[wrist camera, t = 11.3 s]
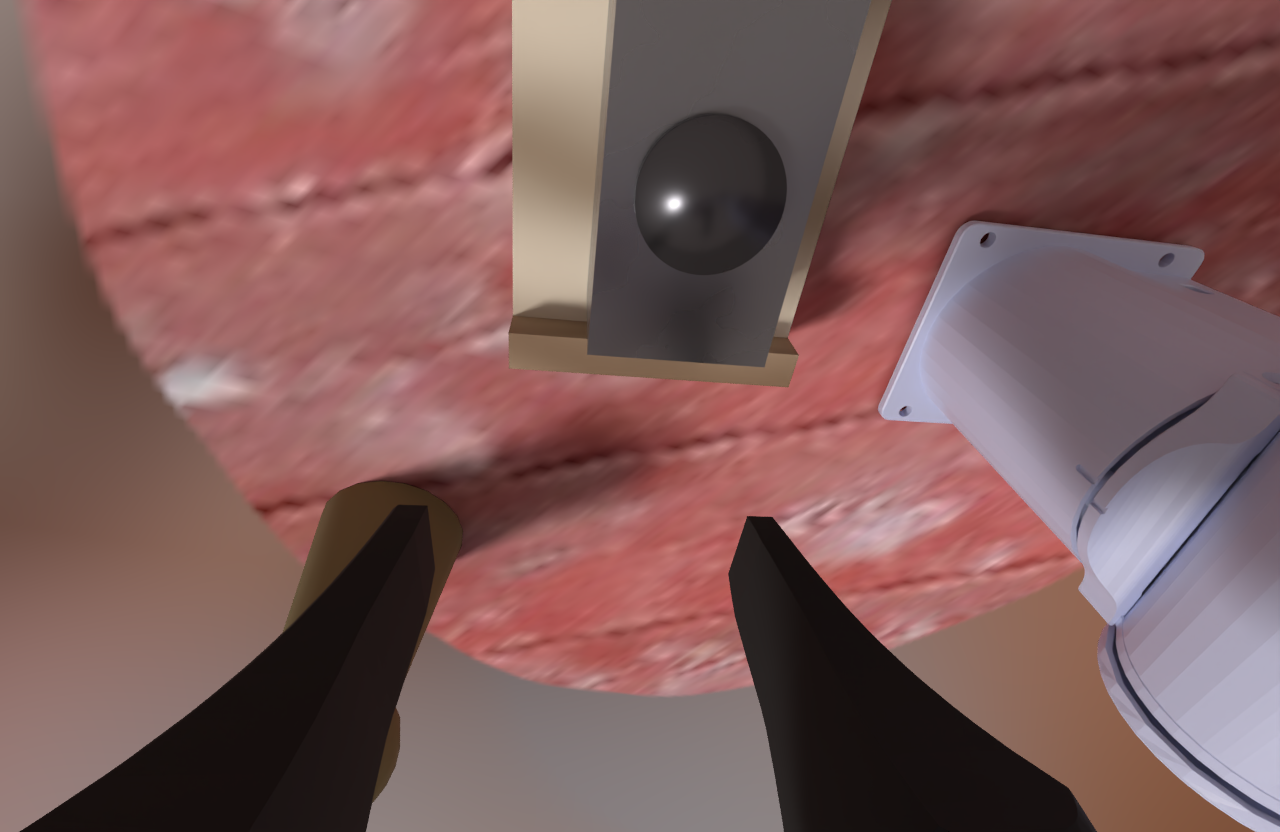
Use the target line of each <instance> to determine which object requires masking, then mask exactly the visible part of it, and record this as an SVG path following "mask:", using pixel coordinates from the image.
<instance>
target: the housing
mask: <svg viewBox="0 0 1280 832" xmlns="http://www.w3.org/2000/svg"><path fill="white" fill-rule="evenodd" d="M870 4H871V0H609V6H608V19H607V32H606V45H605V59H604V72H603V85H602V98H601V111H600V124H599V137H598V150H597V163H596V177H595V190H594V203H593V216H592V229H591V242H590V255H589V268H588V281H587V355H598V356H612V357H626V358H640V359H654V360H668V361H681V362H695V363H709V364H723V365H737V366H751V367H765V364H766V360H767V357H768V353H769V350H770V347H771V343H772V340H773V336H774V333H775V329H776V326H777V323H778V319H779V316H780V312H781V309H782V305H783V302H784V299H785V295H786V292H787V288H788V285H789V281H790V278H791V274H792V271H793V268H794V264H795V261H796V257H797V254H798V250H799V247H800V244H801V240H802V237H803V233H804V230H805V226H806V223H807V220H808V216H809V213H810V209H811V206H812V202H813V199H814V196H815V192H816V189H817V185H818V182H819V178H820V175H821V172H822V168H823V165H824V161H825V158H826V154H827V151H828V148H829V144H830V141H831V137H832V134H833V130H834V127H835V124H836V120H837V117H838V113H839V110H840V106H841V103H842V100H843V96H844V93H845V89H846V86H847V82H848V79H849V76H850V72H851V69H852V65H853V62H854V58H855V55H856V52H857V48H858V45H859V41H860V38H861V34H862V31H863V28H864V24H865V21H866V17H867V14H868V10H869V7H870Z"/></svg>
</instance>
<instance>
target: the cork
mask: <svg viewBox="0 0 1280 832" xmlns="http://www.w3.org/2000/svg"><path fill="white" fill-rule="evenodd" d="M397 505H427V506H428V513H429V521H430V530H431V538H432V546H433V554H434V562H435V572H434V578H433V583H432V588H431V593H430V598H429V603H428V607H427V612H426V616H425V619H424V622H423V625H422V628H421V631H420V634H419V637H418V641H417V644H416V647H415V650H414V653H413V656H412V659H411V662H410V665H409V668H410V666H411V664H412V661H413V659H414V657H415V654H416V652H417V649H418V647H419V645H420V642H421V640H422V638H423V635H424V633H425V631H426V628H427V626H428V623H429V621H430V619H431V616H432V614H433V612H434V609H435V607H436V605H437V602H438V600H439V597H440V595H441V593H442V590H443V588H444V586H445V583H446V581H447V578H448V576H449V574H450V571H451V569H452V567H453V564H454V562H455V560H456V557H457V555H458V552H459V550H460V548H461V545H462V535H463V530H462V528H461V525H460V522H459V520H458V517H457V515H456V514H455V513H454V512H453V511H452V510H451V509H450V508H449V507H448V505H447V504H446V503H445V502H443V501H442V500H440V499H439V498H437V497H435V496H434V495H432V494H431V493H429V492H427V491H425V490H422V489H419V488H416V487H413V486H410V485H408V484H404V483H396V482H387V481H375V482H366V483H358V484H356V485H353V486H351V487H348V488H346V489H343V490H341V491H339V492H338V493H337V494H336V495H334V496H333V497H332V498H331V499H330V500H329V501H328V502H327V503H326V505H325V508H324V510H323V513H322V515H321V518H320V521H319V524H318V527H317V530H316V533H315V536H314V539H313V542H312V545H311V548H310V551H309V554H308V557H307V560H306V563H305V566H304V569H303V573H302V576H301V579H300V582H299V584H298V588H297V591H296V594H295V597H294V600H293V603H292V606H291V609H290V612H289V615H288V618H287V621H286V624H285V627H284V630H283V632H284V631H285V630H286V629H287V628H288V627H289V626H290V625H291V624H292V623H293V622H294V621H295V620H296V619H297V618H298V617H299V616H300V615H301V614H302V613H303V612H304V611H305V610H306V609H307V608H308V607H309V606H310V605H311V604H312V603H313V602H314V601H315V600H316V599H317V598H318V597H319V596H320V595H321V594H322V593H323V592H324V590H325V589H326V588H327V587H328V586H329V585H330V584H331V583H332V582H333V581H334V579H335V578H336V577H337V576H338V575H339V574H340V573H341V571H342V570H343V569H344V568H345V567H346V566H347V565H348V564H349V562H350V561H351V560H352V559H353V558H354V557H355V556H356V554H357V553H358V552H359V551H360V550H361V548H362V547H363V546H364V545H365V544H366V542H367V541H368V540H369V539H370V537H371V536H372V535H373V534H374V532H375V531H376V530H377V529H378V527H379V526H380V525H381V524H382V522H383V521H384V520H385V518H386V517H387V516H388V515H389V513H390V512H391V511H392V509H393V508H394V507H396V506H397ZM409 668H408V671H409ZM408 671H407V673H408ZM406 676H407V674H406ZM405 678H406V677H405ZM399 749H400V716H399V714H398V711H397V709H396V708H395V711H394V714H393V717H392V721H391V724H390V728H389V731H388V735H387V738H386V743H385V747H384V751H383V756H382V760H381V765H380V769H379V773H378V778H377V782H376V786H375V791H374V796H373V800H372V803H373V802H374V800H375V799H376V798H377V797H378V796H379V794H380V793H381V792H382V790H383V789H384V788H385V786H386V785H387V783H388V781H389V778H390V777H391V774H392V772H393V770H394V768H395V766H396V762H397V758H398V753H399Z"/></svg>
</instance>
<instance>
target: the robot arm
mask: <svg viewBox="0 0 1280 832" xmlns="http://www.w3.org/2000/svg"><path fill="white" fill-rule="evenodd" d="M987 233H989V236H988V238H987V240H986V241H985V242H983V243H982V244H980V241H981V238H982V237H983V236H984V235H985V234H987ZM1204 255H1205V254H1204V252H1203V250H1201V249H1199V248H1196V247H1193V246H1188V245H1179V244H1171V243H1162V242H1154V241H1145V240H1137V239H1128V238H1120V237H1111V236H1103V235H1094V234H1086V233H1077V232H1069V231H1060V230H1052V229H1043V228H1035V227H1026V226H1018V225H1009V224H1001V223H992V222H984V221H969V222H967V223H965V224H963V225H962V226H961V227H960V228H959V229H958V230H957V232H956V234H955V236H954V238H953V240H952V242H951V245H950V247H949V249H948V251H947V254H946V256H945V258H944V260H943V263H942V265H941V267H940V269H939V272H938V274H937V276H936V278H935V280H934V283H933V285H932V287H931V289H930V292H929V294H928V296H927V298H926V301H925V303H924V305H923V307H922V310H921V312H920V314H919V316H918V319H917V321H916V323H915V325H914V328H913V330H912V332H911V334H910V337H909V339H908V341H907V343H906V345H905V348H904V350H903V352H902V354H901V357H900V359H899V361H898V363H897V366H896V368H895V370H894V372H893V375H892V377H891V379H890V381H889V384H888V386H887V388H886V390H885V393H884V395H883V397H882V399H881V401H880V404H879V407H878V411H879V413H880V414H881V416H882V417H883V418H884V419H887V420H898V421H915V422H931V423H948V424H953V425H954V426H955V427H956V428H957V429H958V430H959V431H960V432H961V433H962V434H963V435H964V436H965V438H966V439H967V440H968V441H969V442H970V443H971V444H972V445H973V446H974V447H975V448H976V449H977V450H978V452H979V453H980V454H981V455H982V456H983V457H984V458H985V459H986V460H987V461H988V462H989V463H990V465H991V466H992V467H993V468H994V469H995V470H996V471H997V472H998V473H999V474H1000V475H1001V476H1002V478H1003V479H1004V480H1005V481H1006V482H1007V483H1008V484H1009V485H1010V486H1011V487H1012V488H1013V489H1014V491H1015V492H1016V493H1017V494H1018V495H1019V496H1020V497H1021V498H1022V499H1023V500H1024V501H1025V502H1026V504H1027V505H1028V506H1029V507H1030V508H1031V509H1032V510H1033V511H1034V512H1035V513H1036V514H1037V515H1038V517H1039V518H1040V519H1041V520H1042V521H1043V522H1044V523H1045V524H1046V525H1047V526H1048V527H1049V528H1050V529H1051V531H1052V532H1053V533H1054V534H1055V535H1056V536H1057V537H1058V538H1059V539H1060V540H1061V541H1062V542H1063V544H1064V545H1065V546H1066V547H1067V548H1068V549H1069V550H1070V551H1071V552H1072V553H1073V554H1074V555H1075V557H1076V558H1077V559H1078V560H1079V561H1080V562H1081V563H1083V566H1084V568H1085V576H1084V579H1083V581H1082V582H1081V584H1080V586H1079V591H1080V592H1081V593H1082V594H1083V595H1084V597H1085V598H1086V599H1087V600H1088V601H1089V602H1090V603H1091V604H1092V606H1093V607H1094V608H1095V609H1096V610H1097V611H1098V613H1099V614H1100V615H1101V616H1102V617H1103V618H1104V619H1105V620H1106V622H1107V625H1106V626H1105V627H1104V629H1103V630H1102V633H1101V636H1100V639H1099V642H1098V663H1099V668H1100V673H1101V676H1102V679H1103V681H1104V683H1105V686H1106V688H1107V691H1108V693H1109V695H1110V696H1111V698H1112V700H1113V702H1114V704H1115V705H1116V707H1117V709H1118V710H1119V712H1120V714H1121V715H1122V716H1123V718H1124V719H1125V720H1126V722H1127V723H1128V724H1129V726H1130V727H1131V728H1132V730H1133V731H1134V732H1135V734H1136V735H1137V736H1138V737H1139V738H1140V739H1141V741H1142V742H1143V743H1144V744H1145V745H1146V746H1147V747H1148V748H1149V749H1150V751H1151V752H1153V754H1154V755H1155V756H1156V757H1157V758H1158V759H1159V760H1160V761H1161V762H1162V763H1164V765H1166V766H1167V767H1168V768H1169V769H1170V770H1171V771H1172V772H1173V773H1174V774H1175V775H1176V776H1177V777H1178V778H1179V779H1181V780H1182V781H1183V782H1184V783H1186V784H1187V785H1188V786H1189V787H1191V788H1192V789H1193V790H1194V791H1196V792H1197V793H1198V794H1199V795H1201V796H1202V797H1203V798H1204V799H1206V800H1207V801H1208V802H1210V803H1211V804H1213V805H1214V806H1216V807H1217V808H1219V809H1220V810H1222V811H1223V812H1224V813H1226V814H1227V815H1229V816H1230V817H1232V818H1233V819H1235V820H1236V821H1238V822H1239V823H1241V824H1243V825H1245V826H1246V827H1248V828H1250V829H1252V830H1253V831H1256V832H1280V317H1279V316H1276V315H1274V314H1271V313H1269V312H1267V311H1264V310H1262V309H1259V308H1257V307H1255V306H1252V305H1250V304H1248V303H1245V302H1243V301H1240V300H1238V299H1236V298H1233V297H1231V296H1228V295H1226V294H1224V293H1221V292H1219V291H1217V290H1214V289H1212V288H1209V287H1207V286H1205V285H1202V284H1200V283H1197V282H1195V281H1193V280H1190V279H1191V278H1192V276H1193V275H1194V274H1195V272H1196V271H1197V269H1198V268H1199V267H1200V265H1201V264H1202V262H1203V260H1204ZM1163 256H1164V257H1163ZM1162 257H1163V258H1162ZM1161 258H1162V259H1161ZM1160 259H1161V260H1160ZM904 406H907V407H906V408H905V409H904V410H902V411H900V409H901V408H903V407H904ZM434 572H435V562H434V554H433V546H432V538H431V530H430V521H429V513H428V506H427V505H397V506H396V507H394V508H393V509H392V511H391V512H390V513H389V515H388V516H387V517H386V518H385V520H384V521H383V522H382V524H381V525H380V526H379V527H378V529H377V530H376V531H375V532H374V534H373V535H372V536H371V537H370V539H369V540H368V541H367V542H366V544H365V545H364V546H363V547H362V548H361V550H360V551H359V552H358V553H357V554H356V556H355V557H354V558H353V559H352V560H351V561H350V562H349V564H348V565H347V566H346V567H345V568H344V569H343V570H342V571H341V573H340V574H339V575H338V576H337V577H336V578H335V579H334V581H333V582H332V583H331V584H330V585H329V586H328V587H327V588H326V589H325V590H324V592H323V593H322V594H321V595H320V596H319V597H318V598H317V599H316V600H315V601H314V602H313V603H312V604H311V605H310V606H309V607H308V608H307V609H306V610H305V611H304V612H303V613H302V614H301V615H300V616H299V617H298V618H297V619H296V620H295V621H294V622H293V623H292V624H291V625H290V626H289V627H288V628H287V629H286V630H285V631H284V632H283V633H282V634H281V635H280V636H279V637H278V638H277V639H276V640H275V641H274V642H273V643H272V644H270V646H268V647H267V648H266V649H265V650H264V651H263V652H262V653H261V654H260V655H258V656H257V657H256V658H255V659H254V660H253V661H252V662H251V663H249V664H248V665H247V666H246V667H245V668H244V669H243V670H242V671H240V672H239V673H238V674H237V675H235V676H234V677H233V678H232V679H231V680H230V681H228V682H227V683H226V684H225V685H223V686H222V687H221V688H220V689H219V690H218V691H217V692H215V693H214V694H213V695H212V696H210V697H209V698H208V699H207V700H205V701H204V702H203V703H202V704H200V705H199V706H198V707H197V708H196V709H194V710H193V711H192V712H191V713H189V714H188V715H187V716H185V717H184V718H183V719H181V720H180V721H179V722H177V723H176V724H174V725H173V726H172V727H170V728H169V729H168V730H166V731H165V732H164V733H162V734H161V735H160V736H158V737H157V738H156V739H154V740H153V741H152V742H150V743H149V744H147V745H146V746H145V747H143V748H142V749H141V750H139V751H138V752H137V753H135V754H134V755H133V756H131V757H130V758H129V759H127V760H126V761H124V762H123V763H122V764H120V765H119V766H117V767H116V768H115V769H113V770H112V771H110V772H109V773H107V774H106V775H105V776H103V777H102V778H100V779H98V780H97V781H95V782H94V783H93V784H91V785H89V786H88V787H87V788H85V789H84V790H82V791H80V792H79V793H77V794H76V795H75V796H73V797H72V798H70V799H69V800H67V801H66V802H64V803H63V804H61V805H60V806H58V807H57V808H55V809H54V810H52V811H51V812H49V813H48V814H46V815H45V816H43V817H42V818H40V819H39V820H37V821H35V822H34V823H32V824H31V825H29V826H28V827H26V828H25V829H23V830H21V831H20V832H366V828H367V823H368V819H369V814H370V810H371V805H372V800H373V796H374V791H375V786H376V782H377V778H378V773H379V769H380V765H381V760H382V756H383V751H384V747H385V743H386V738H387V735H388V731H389V728H390V724H391V721H392V717H393V714H394V711H395V708H396V705H397V702H398V699H399V696H400V692H401V689H402V686H403V683H404V680H405V677H406V674H407V671H408V668H409V665H410V662H411V659H412V656H413V653H414V650H415V647H416V644H417V641H418V637H419V634H420V631H421V628H422V625H423V622H424V619H425V616H426V612H427V607H428V603H429V598H430V593H431V588H432V583H433V578H434ZM728 574H729V581H730V588H731V595H732V601H733V607H734V613H735V618H736V622H737V625H738V629H739V632H740V636H741V640H742V643H743V647H744V650H745V654H746V657H747V661H748V664H749V668H750V671H751V675H752V678H753V682H754V685H755V689H756V692H757V696H758V699H759V703H760V706H761V709H762V714H763V718H764V722H765V726H766V730H767V736H768V741H769V746H770V751H771V757H772V762H773V768H774V773H775V779H776V785H777V791H778V797H779V803H780V808H781V815H782V821H783V828H784V832H1097V831H1096V830H1095V828H1094V827H1093V825H1092V823H1091V822H1090V820H1089V819H1088V817H1087V816H1086V814H1085V812H1084V811H1083V809H1082V808H1081V806H1080V805H1079V803H1078V802H1077V800H1076V798H1075V797H1074V795H1073V794H1072V793H1071V791H1070V790H1069V788H1067V787H1066V786H1065V785H1063V784H1061V783H1060V782H1059V781H1057V780H1056V779H1054V778H1052V777H1051V776H1050V775H1048V774H1047V773H1045V772H1044V771H1042V770H1040V769H1039V768H1038V767H1036V766H1035V765H1033V764H1032V763H1030V762H1028V761H1027V760H1026V759H1024V758H1023V757H1021V756H1020V755H1018V754H1016V753H1015V752H1014V751H1012V750H1011V749H1009V748H1008V747H1006V746H1005V745H1004V744H1002V743H1001V742H1000V741H998V740H997V739H995V738H994V737H993V736H991V735H990V734H989V733H987V732H986V731H985V730H983V729H982V728H980V727H979V726H978V725H976V724H975V723H973V722H972V721H971V720H970V719H969V718H967V717H966V716H964V715H963V714H962V713H961V712H960V711H958V710H957V709H956V708H954V707H953V706H952V705H951V704H949V703H948V702H947V701H946V700H944V699H943V698H942V697H941V696H940V695H939V694H937V693H936V692H935V691H934V690H933V689H931V688H930V687H929V686H928V685H927V684H925V683H924V682H923V681H922V680H921V679H919V678H918V677H917V676H916V675H915V674H914V673H913V672H911V671H910V670H909V669H908V668H907V667H906V666H905V665H904V664H903V663H902V662H901V661H899V660H898V659H897V658H896V657H895V656H894V655H893V654H892V653H891V652H890V651H889V650H888V649H887V648H886V647H885V646H884V645H882V644H881V643H880V642H879V641H878V640H877V639H876V638H875V637H874V636H873V635H872V634H871V633H870V632H869V631H868V630H867V629H866V628H865V626H864V625H863V624H862V623H861V622H860V621H859V620H858V619H857V618H856V617H855V616H854V615H853V614H852V613H851V612H850V610H849V609H848V608H847V607H846V606H845V605H844V604H843V603H842V602H841V600H840V599H839V598H838V597H837V596H836V595H835V594H834V592H833V591H832V590H831V589H830V588H829V587H828V585H827V584H826V583H825V582H824V581H823V579H822V578H821V577H820V576H819V575H818V574H817V572H816V571H815V570H814V569H813V567H812V566H811V565H810V564H809V563H808V561H807V560H806V559H805V558H804V556H803V555H802V554H801V553H800V551H799V550H798V549H797V547H796V546H795V545H794V544H793V542H792V541H791V540H790V539H789V537H788V536H787V535H786V534H785V532H784V531H783V530H782V529H781V527H780V526H779V525H778V524H777V522H776V521H775V520H774V519H773V517H756V516H747V519H746V522H745V525H744V528H743V531H742V534H741V537H740V540H739V543H738V546H737V549H736V552H735V555H734V558H733V561H732V564H731V567H730V570H729V573H728Z"/></svg>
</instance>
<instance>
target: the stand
mask: <svg viewBox="0 0 1280 832" xmlns="http://www.w3.org/2000/svg"><path fill="white" fill-rule="evenodd" d="M891 1H892V0H871V4H870V7H869V10H868V14H867V17H866V21H865V24H864V28H863V31H862V34H861V38H860V41H859V45H858V48H857V52H856V55H855V58H854V62H853V65H852V69H851V72H850V76H849V79H848V82H847V86H846V89H845V93H844V96H843V100H842V103H841V106H840V110H839V113H838V117H837V120H836V124H835V127H834V130H833V134H832V137H831V141H830V144H829V148H828V151H827V154H826V158H825V161H824V165H823V168H822V172H821V175H820V178H819V182H818V185H817V189H816V192H815V196H814V199H813V202H812V206H811V209H810V213H809V216H808V220H807V223H806V226H805V230H804V233H803V237H802V240H801V244H800V247H799V250H798V254H797V257H796V261H795V264H794V268H793V271H792V274H791V278H790V281H789V285H788V288H787V292H786V295H785V299H784V302H783V305H782V309H781V312H780V316H779V319H778V323H777V326H776V329H775V333H774V336H773V340H772V343H771V347H770V350H769V353H768V357H767V360H766V364H765V367H751V366H737V365H723V364H709V363H695V362H681V361H668V360H654V359H640V358H626V357H612V356H598V355H587V281H588V268H589V255H590V242H591V229H592V216H593V203H594V190H595V177H596V163H597V150H598V137H599V124H600V111H601V98H602V85H603V72H604V59H605V45H606V32H607V19H608V6H609V0H512V118H513V318H512V322H511V326H510V330H509V368H512V369H527V370H542V371H556V372H571V373H586V374H601V375H615V376H630V377H645V378H660V379H674V380H689V381H704V382H719V383H733V384H748V385H763V386H778V387H789V384H790V381H791V378H792V375H793V371H794V368H795V365H796V362H797V359H798V356H799V355H798V353H797V352H796V350H795V349H794V347H793V345H792V344H791V342H790V341H789V339H788V335H789V331H790V328H791V325H792V322H793V318H794V315H795V312H796V309H797V306H798V302H799V299H800V296H801V293H802V289H803V286H804V283H805V280H806V276H807V273H808V270H809V267H810V263H811V260H812V257H813V254H814V250H815V247H816V244H817V241H818V237H819V234H820V231H821V228H822V225H823V221H824V218H825V215H826V212H827V208H828V205H829V202H830V199H831V195H832V192H833V189H834V186H835V182H836V179H837V176H838V173H839V169H840V166H841V163H842V160H843V156H844V153H845V150H846V147H847V144H848V140H849V137H850V134H851V131H852V127H853V124H854V121H855V118H856V114H857V111H858V108H859V105H860V101H861V98H862V95H863V92H864V88H865V85H866V82H867V79H868V75H869V72H870V69H871V66H872V62H873V59H874V56H875V53H876V50H877V46H878V43H879V40H880V37H881V33H882V30H883V27H884V24H885V20H886V17H887V14H888V11H889V7H890V4H891Z"/></svg>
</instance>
